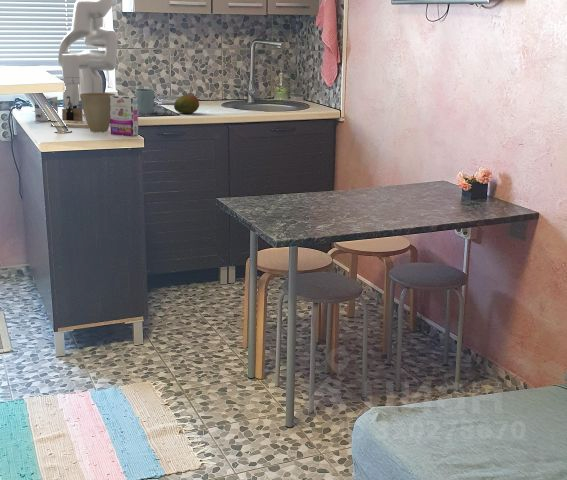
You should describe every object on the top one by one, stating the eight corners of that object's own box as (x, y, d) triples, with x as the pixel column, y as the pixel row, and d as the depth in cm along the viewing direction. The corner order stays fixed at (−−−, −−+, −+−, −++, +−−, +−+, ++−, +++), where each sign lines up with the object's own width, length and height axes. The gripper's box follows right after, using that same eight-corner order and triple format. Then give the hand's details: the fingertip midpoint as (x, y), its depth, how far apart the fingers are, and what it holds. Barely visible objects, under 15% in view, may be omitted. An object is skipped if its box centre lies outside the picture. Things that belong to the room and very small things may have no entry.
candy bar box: (139, 135, 342) (138, 96, 338) (132, 136, 338) (132, 97, 333) (116, 133, 346) (115, 94, 342) (109, 134, 341) (109, 95, 337)
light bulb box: (48, 121, 374) (47, 98, 371) (34, 120, 375) (33, 97, 372) (58, 119, 384) (57, 96, 381) (45, 118, 385) (44, 95, 382)
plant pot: (103, 127, 360) (102, 91, 356) (122, 131, 350) (122, 94, 346) (74, 130, 350) (73, 93, 345) (93, 134, 340) (92, 96, 336)
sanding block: (66, 120, 380) (65, 107, 378) (82, 121, 379) (82, 108, 378) (62, 122, 375) (62, 109, 373) (79, 122, 374) (79, 109, 373)
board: (60, 122, 371) (60, 119, 371) (98, 124, 370) (98, 121, 370) (50, 126, 359) (50, 123, 359) (90, 128, 358) (90, 125, 358)
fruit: (201, 114, 420) (202, 95, 417) (179, 115, 414) (179, 95, 411) (193, 112, 430) (193, 93, 427) (171, 112, 424) (171, 93, 421)
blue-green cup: (145, 111, 426) (144, 88, 423) (158, 113, 420) (158, 89, 417) (131, 112, 418) (130, 89, 415) (145, 114, 412) (144, 90, 409)
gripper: (69, 79, 380) (70, 117, 385) (57, 82, 364) (58, 121, 369) (84, 80, 380) (86, 117, 385) (73, 82, 363) (74, 122, 368)
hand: (72, 119), depth 377 cm, fingers open, 6 cm apart
